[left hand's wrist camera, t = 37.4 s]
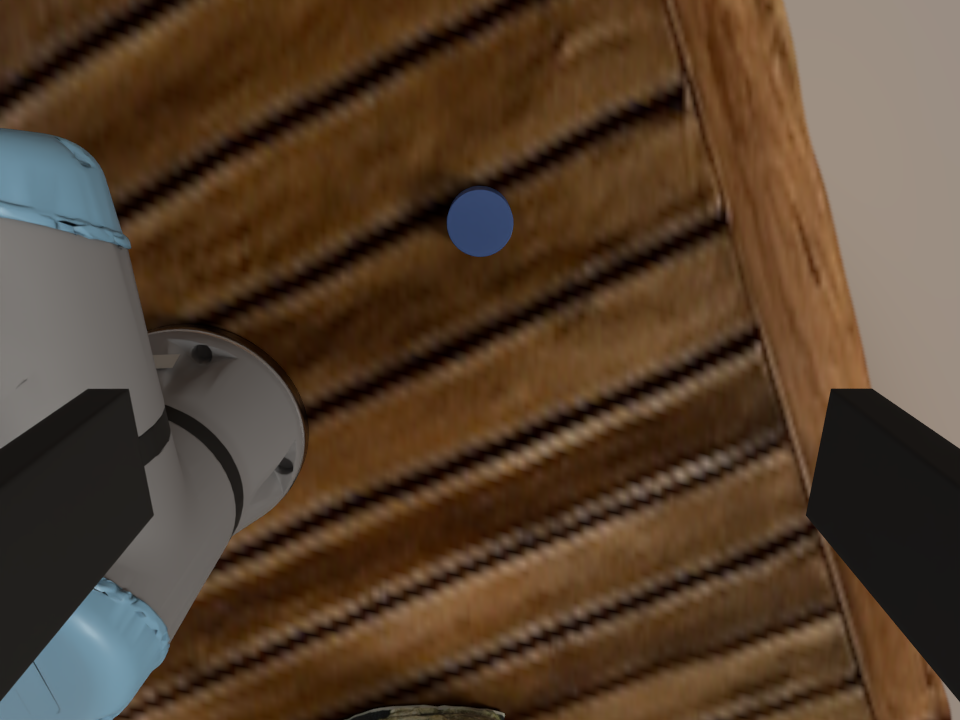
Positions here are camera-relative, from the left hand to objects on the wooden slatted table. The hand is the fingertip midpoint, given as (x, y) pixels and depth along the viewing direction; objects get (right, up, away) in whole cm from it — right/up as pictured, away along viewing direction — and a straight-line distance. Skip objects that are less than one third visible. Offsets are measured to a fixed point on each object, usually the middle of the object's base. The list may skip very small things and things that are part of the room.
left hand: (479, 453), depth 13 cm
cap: (0, +10, +28) cm, 30 cm away
